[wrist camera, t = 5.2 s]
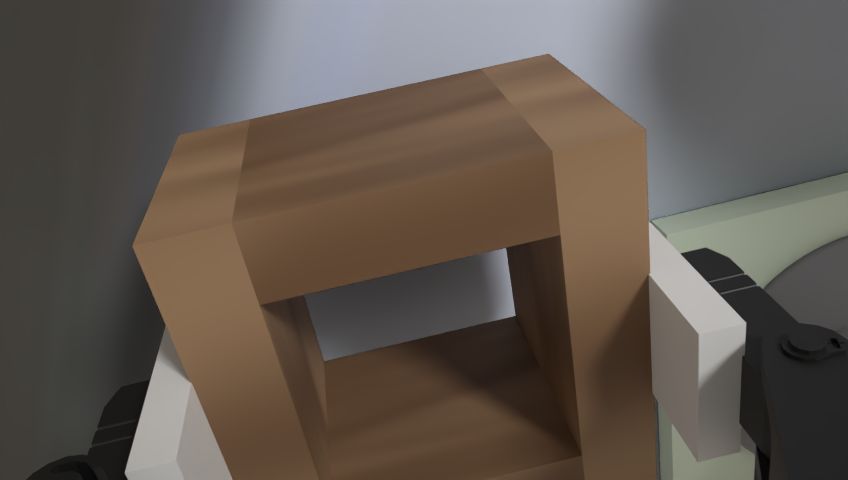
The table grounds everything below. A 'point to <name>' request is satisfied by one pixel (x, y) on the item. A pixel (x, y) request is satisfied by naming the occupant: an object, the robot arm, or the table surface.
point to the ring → (410, 249)
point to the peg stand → (767, 281)
